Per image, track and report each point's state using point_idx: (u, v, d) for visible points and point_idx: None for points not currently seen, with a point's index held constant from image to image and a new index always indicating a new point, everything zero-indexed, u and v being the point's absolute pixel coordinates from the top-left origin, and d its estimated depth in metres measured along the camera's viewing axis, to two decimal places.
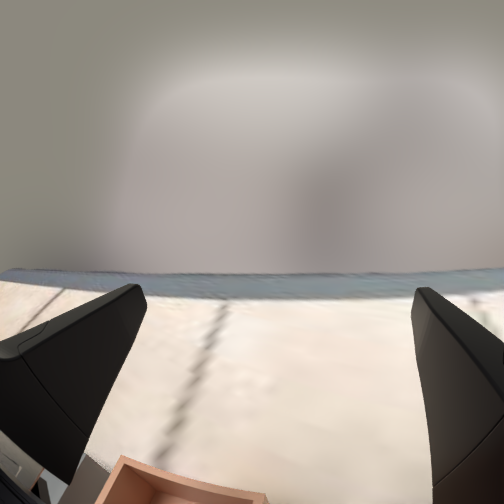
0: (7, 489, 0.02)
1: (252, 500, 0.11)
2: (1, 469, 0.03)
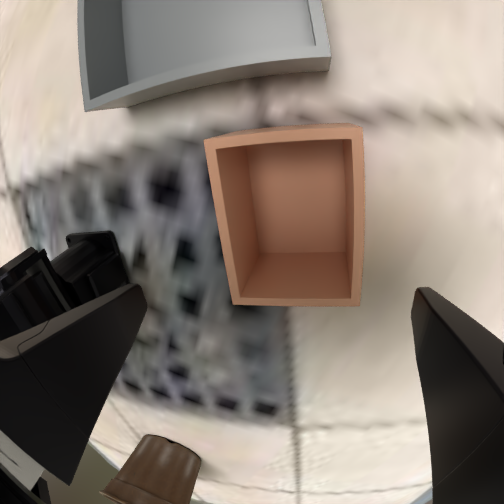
0: (7, 489, 0.02)
1: (350, 296, 0.15)
2: (1, 469, 0.03)
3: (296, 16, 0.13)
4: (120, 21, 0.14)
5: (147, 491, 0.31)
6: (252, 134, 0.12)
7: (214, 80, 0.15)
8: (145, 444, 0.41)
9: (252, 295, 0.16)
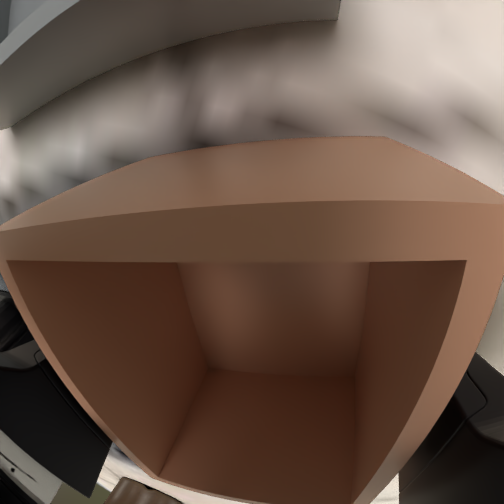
0: None
1: (350, 503, 0.05)
2: (1, 469, 0.03)
3: None
4: (6, 2, 0.05)
5: None
6: (52, 227, 0.03)
7: (91, 62, 0.06)
8: (122, 488, 0.32)
9: (178, 477, 0.07)
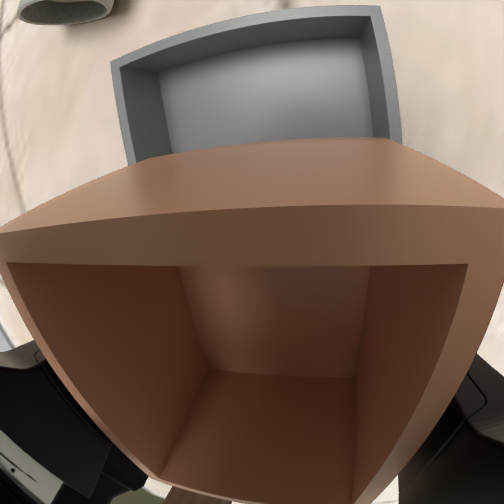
0: None
1: None
2: (1, 469, 0.03)
3: None
4: None
5: None
6: (52, 229, 0.03)
7: None
8: None
9: (178, 478, 0.07)
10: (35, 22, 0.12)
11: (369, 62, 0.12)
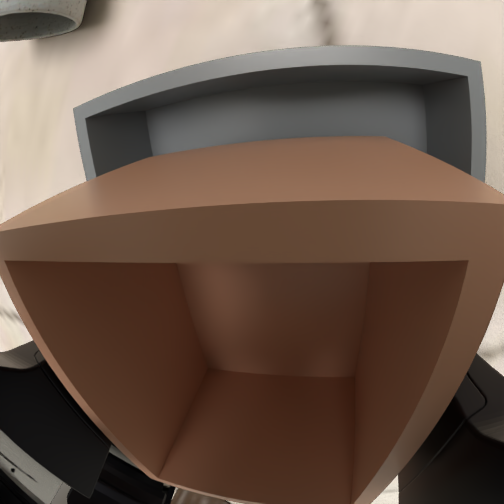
0: None
1: None
2: (1, 469, 0.03)
3: None
4: None
5: None
6: (49, 227, 0.03)
7: None
8: (183, 497, 0.41)
9: (177, 477, 0.07)
10: None
11: (441, 132, 0.09)
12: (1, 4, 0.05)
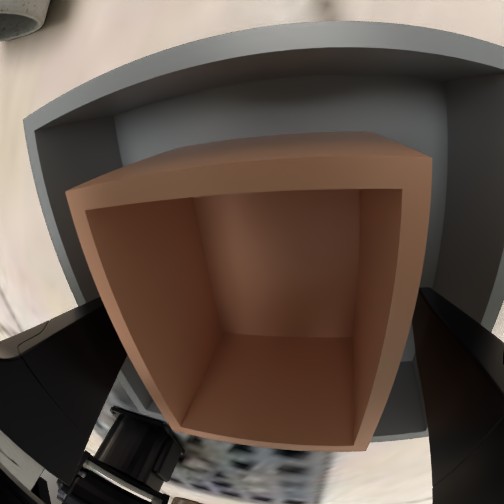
0: (7, 489, 0.02)
1: (353, 442, 0.07)
2: (1, 469, 0.03)
3: None
4: None
5: None
6: (145, 177, 0.05)
7: None
8: None
9: (199, 425, 0.09)
10: None
11: (470, 140, 0.06)
12: None
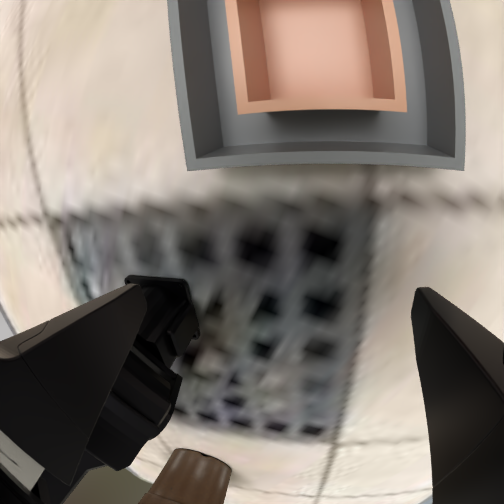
0: (7, 489, 0.02)
1: (394, 98, 0.09)
2: (1, 469, 0.03)
3: (414, 93, 0.13)
4: (211, 50, 0.15)
5: None
6: None
7: None
8: (179, 458, 0.42)
9: None
10: None
11: None
12: None
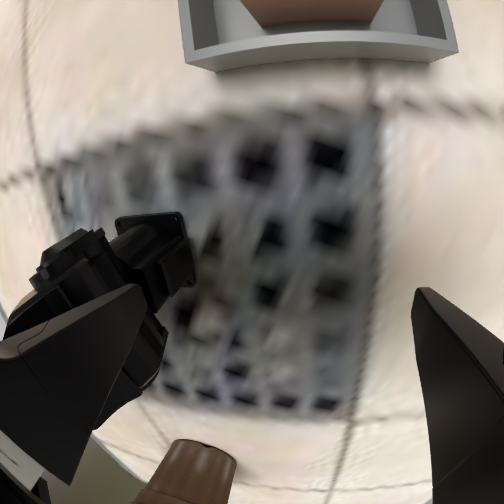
0: (7, 489, 0.02)
1: None
2: (1, 469, 0.03)
3: (401, 8, 0.11)
4: None
5: (185, 500, 0.30)
6: None
7: (331, 53, 0.13)
8: (178, 450, 0.39)
9: None
10: None
11: None
12: None
